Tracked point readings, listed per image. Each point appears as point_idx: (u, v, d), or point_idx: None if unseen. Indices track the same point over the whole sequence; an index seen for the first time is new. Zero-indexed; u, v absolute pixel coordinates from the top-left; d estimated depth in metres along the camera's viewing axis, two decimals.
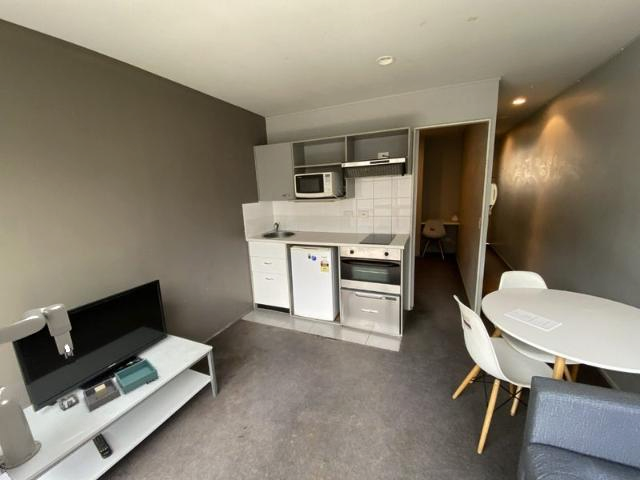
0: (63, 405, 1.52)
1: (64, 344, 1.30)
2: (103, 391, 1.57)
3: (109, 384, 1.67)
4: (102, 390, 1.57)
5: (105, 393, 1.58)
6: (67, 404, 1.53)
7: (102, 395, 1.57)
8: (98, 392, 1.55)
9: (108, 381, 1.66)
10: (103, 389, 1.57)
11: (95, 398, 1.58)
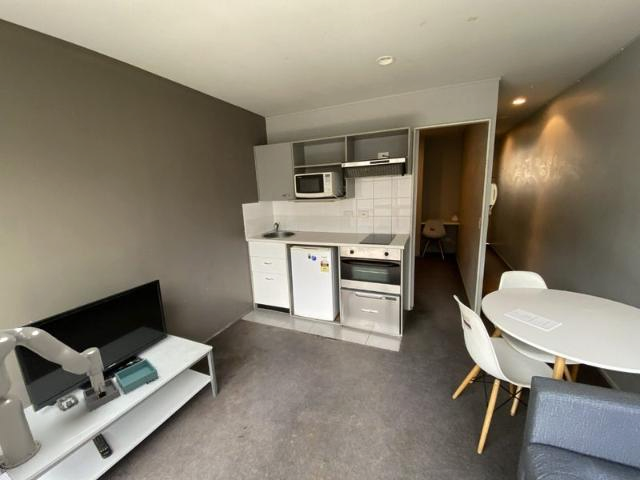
0: (62, 406, 1.52)
1: (98, 383, 1.53)
2: None
3: (109, 384, 1.67)
4: None
5: None
6: None
7: None
8: (98, 392, 1.55)
9: (108, 381, 1.66)
10: None
11: (95, 398, 1.58)
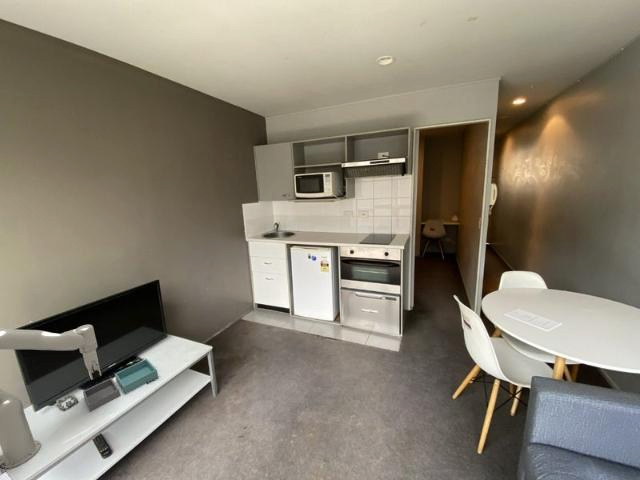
0: (62, 406, 1.51)
1: (91, 360, 1.49)
2: None
3: (109, 384, 1.67)
4: None
5: None
6: (66, 405, 1.53)
7: None
8: (91, 371, 1.52)
9: (108, 381, 1.66)
10: None
11: (95, 398, 1.58)
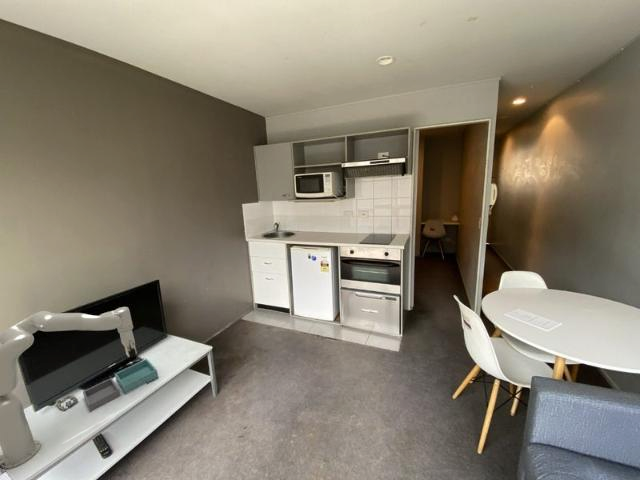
0: (62, 406, 1.51)
1: (129, 339, 1.62)
2: None
3: (109, 384, 1.67)
4: None
5: None
6: (66, 405, 1.53)
7: None
8: (128, 349, 1.65)
9: (108, 381, 1.66)
10: None
11: (95, 398, 1.58)
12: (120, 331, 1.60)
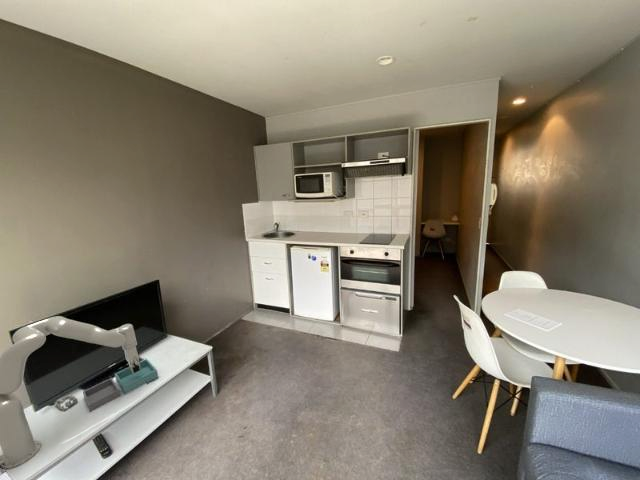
0: (62, 406, 1.51)
1: (133, 356, 1.64)
2: None
3: (109, 384, 1.67)
4: None
5: None
6: (66, 405, 1.53)
7: None
8: (132, 365, 1.67)
9: (108, 381, 1.66)
10: None
11: (95, 398, 1.58)
12: (124, 348, 1.63)
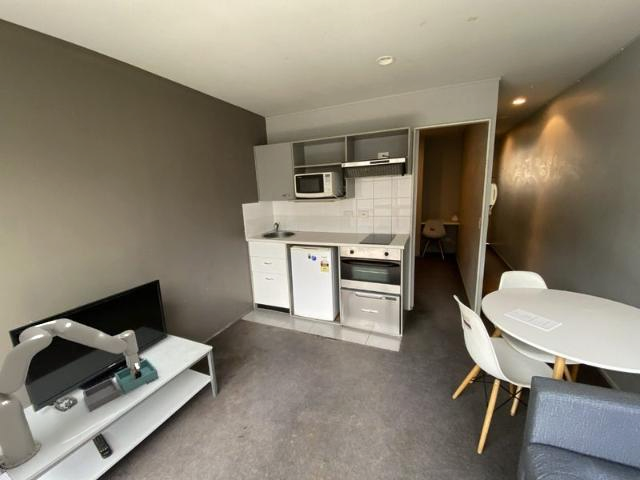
0: (61, 407, 1.51)
1: (134, 362, 1.65)
2: None
3: (109, 384, 1.67)
4: None
5: None
6: (65, 405, 1.52)
7: None
8: (134, 374, 1.69)
9: (108, 381, 1.66)
10: None
11: (95, 398, 1.58)
12: (126, 354, 1.64)
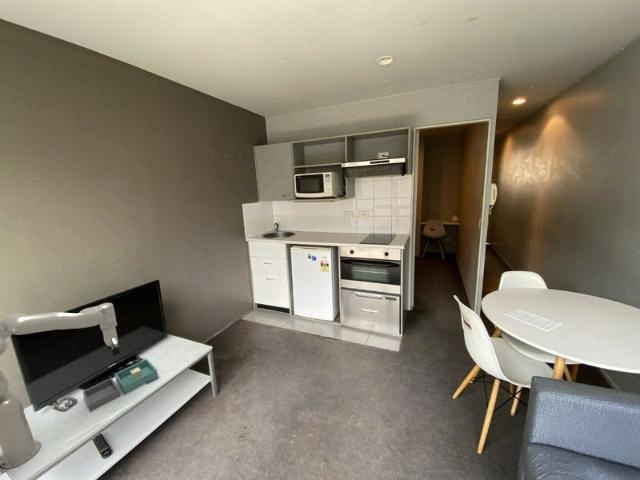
0: None
1: (111, 337, 1.54)
2: (138, 373, 1.70)
3: (109, 384, 1.67)
4: (137, 372, 1.70)
5: (140, 375, 1.71)
6: (65, 406, 1.52)
7: (137, 377, 1.70)
8: (134, 374, 1.69)
9: (108, 381, 1.66)
10: (138, 372, 1.70)
11: (95, 398, 1.58)
12: (102, 328, 1.53)
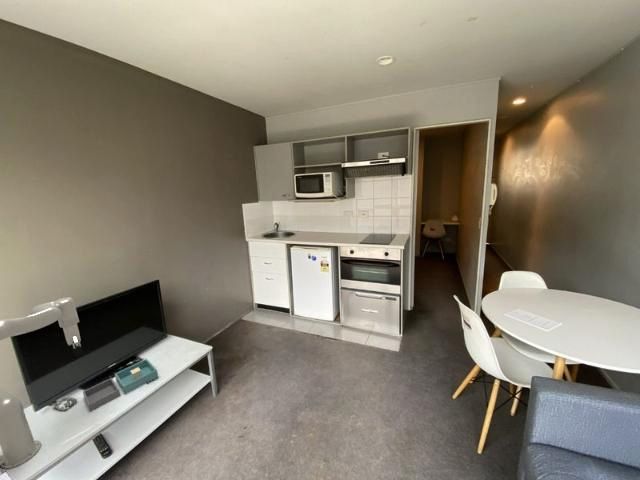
0: None
1: (72, 335, 1.39)
2: (138, 373, 1.70)
3: (109, 384, 1.67)
4: (137, 372, 1.70)
5: (140, 375, 1.71)
6: (65, 406, 1.52)
7: (137, 377, 1.70)
8: (134, 374, 1.69)
9: (108, 381, 1.66)
10: (138, 372, 1.70)
11: (95, 398, 1.58)
12: (61, 325, 1.37)
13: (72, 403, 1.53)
